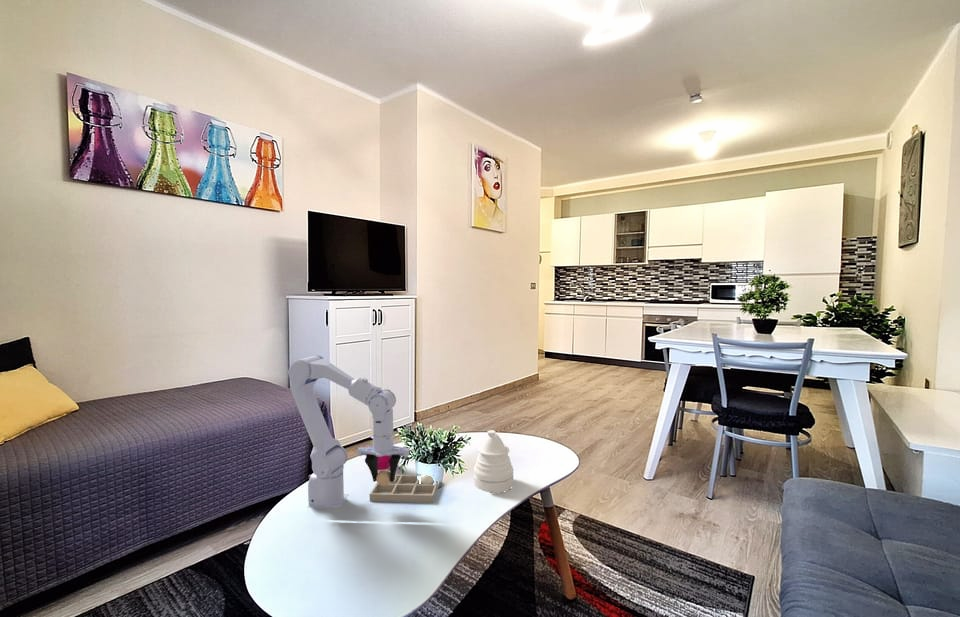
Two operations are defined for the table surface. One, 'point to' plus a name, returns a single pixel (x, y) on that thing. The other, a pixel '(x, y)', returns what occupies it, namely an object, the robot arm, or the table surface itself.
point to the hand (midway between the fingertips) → (384, 480)
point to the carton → (404, 490)
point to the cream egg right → (427, 480)
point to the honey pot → (493, 466)
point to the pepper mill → (383, 462)
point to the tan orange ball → (383, 477)
